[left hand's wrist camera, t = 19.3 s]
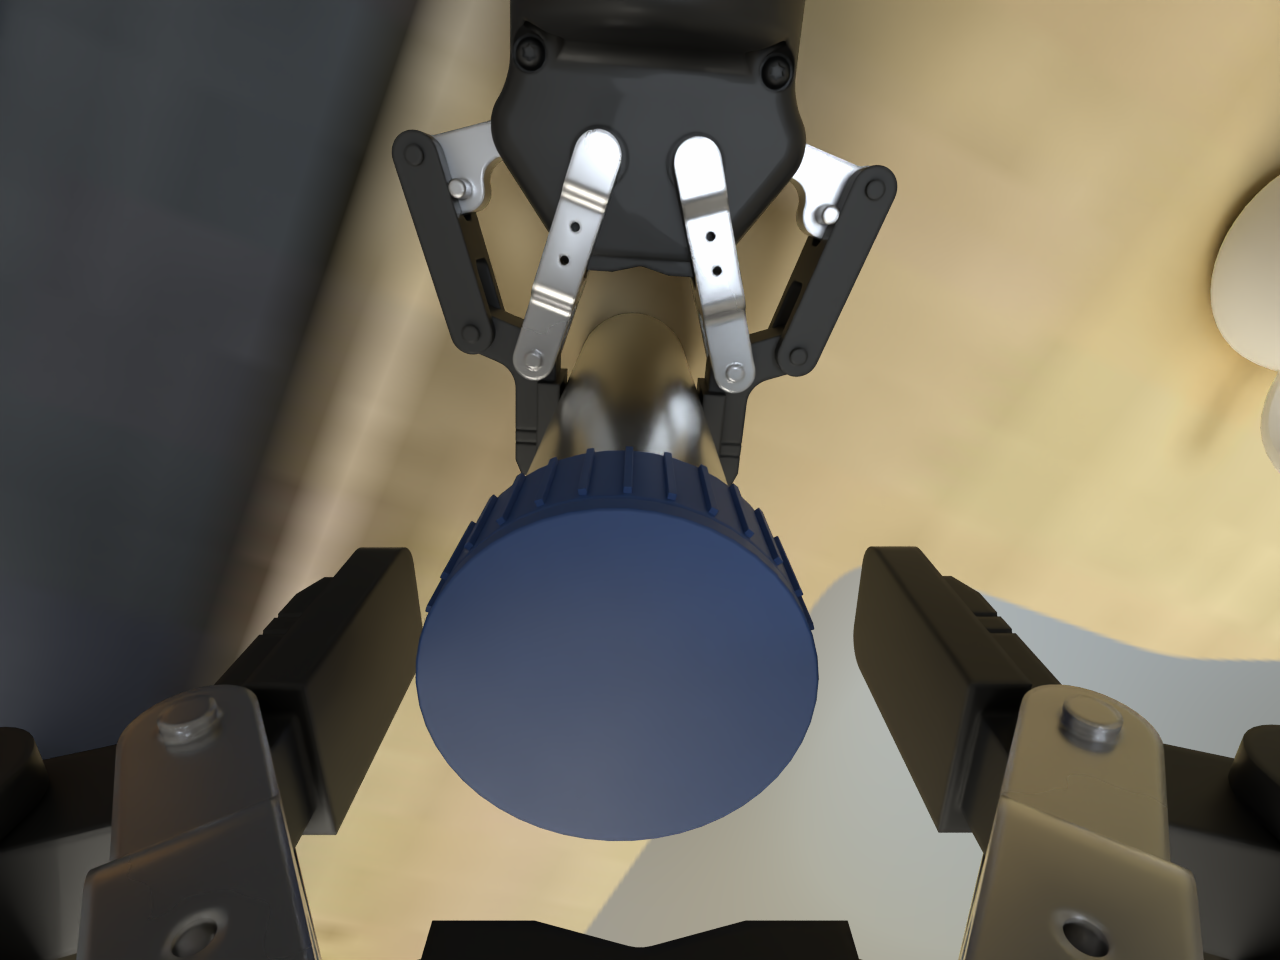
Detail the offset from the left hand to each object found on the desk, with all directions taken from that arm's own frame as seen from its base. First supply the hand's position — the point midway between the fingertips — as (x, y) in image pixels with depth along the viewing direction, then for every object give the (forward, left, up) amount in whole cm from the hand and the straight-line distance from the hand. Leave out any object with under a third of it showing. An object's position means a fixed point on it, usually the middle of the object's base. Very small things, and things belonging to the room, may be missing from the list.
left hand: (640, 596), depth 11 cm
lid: (0, 0, +2) cm, 2 cm away
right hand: (-1, -2, -11) cm, 11 cm away
